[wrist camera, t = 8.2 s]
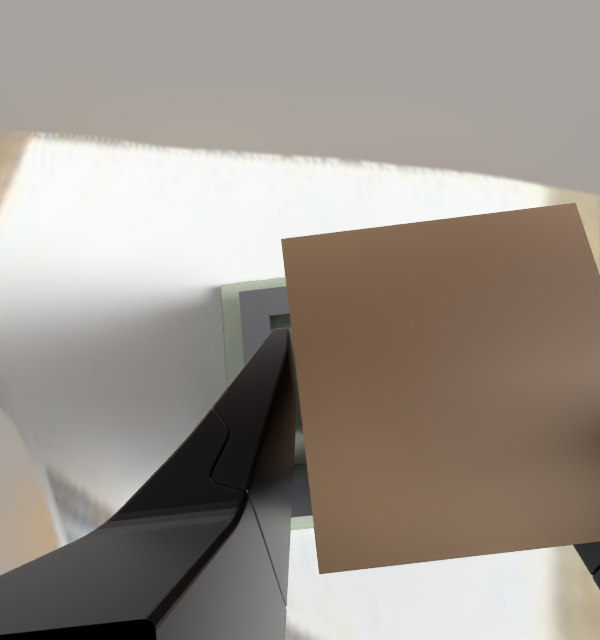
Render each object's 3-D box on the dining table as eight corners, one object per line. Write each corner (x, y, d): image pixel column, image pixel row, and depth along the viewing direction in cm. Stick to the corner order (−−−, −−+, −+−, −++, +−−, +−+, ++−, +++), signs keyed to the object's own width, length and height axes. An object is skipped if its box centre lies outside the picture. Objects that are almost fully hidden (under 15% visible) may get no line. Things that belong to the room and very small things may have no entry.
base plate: (491, 501, 16) (500, 507, 15) (239, 529, 16) (235, 536, 15) (439, 265, 18) (445, 259, 17) (224, 289, 18) (220, 285, 18)
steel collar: (458, 474, 15) (496, 494, 12) (266, 495, 15) (255, 521, 12) (422, 290, 17) (446, 267, 14) (252, 310, 17) (238, 291, 14)
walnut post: (395, 424, 16) (686, 531, 4) (312, 434, 16) (319, 573, 4) (381, 342, 17) (574, 203, 4) (302, 351, 17) (280, 239, 4)
